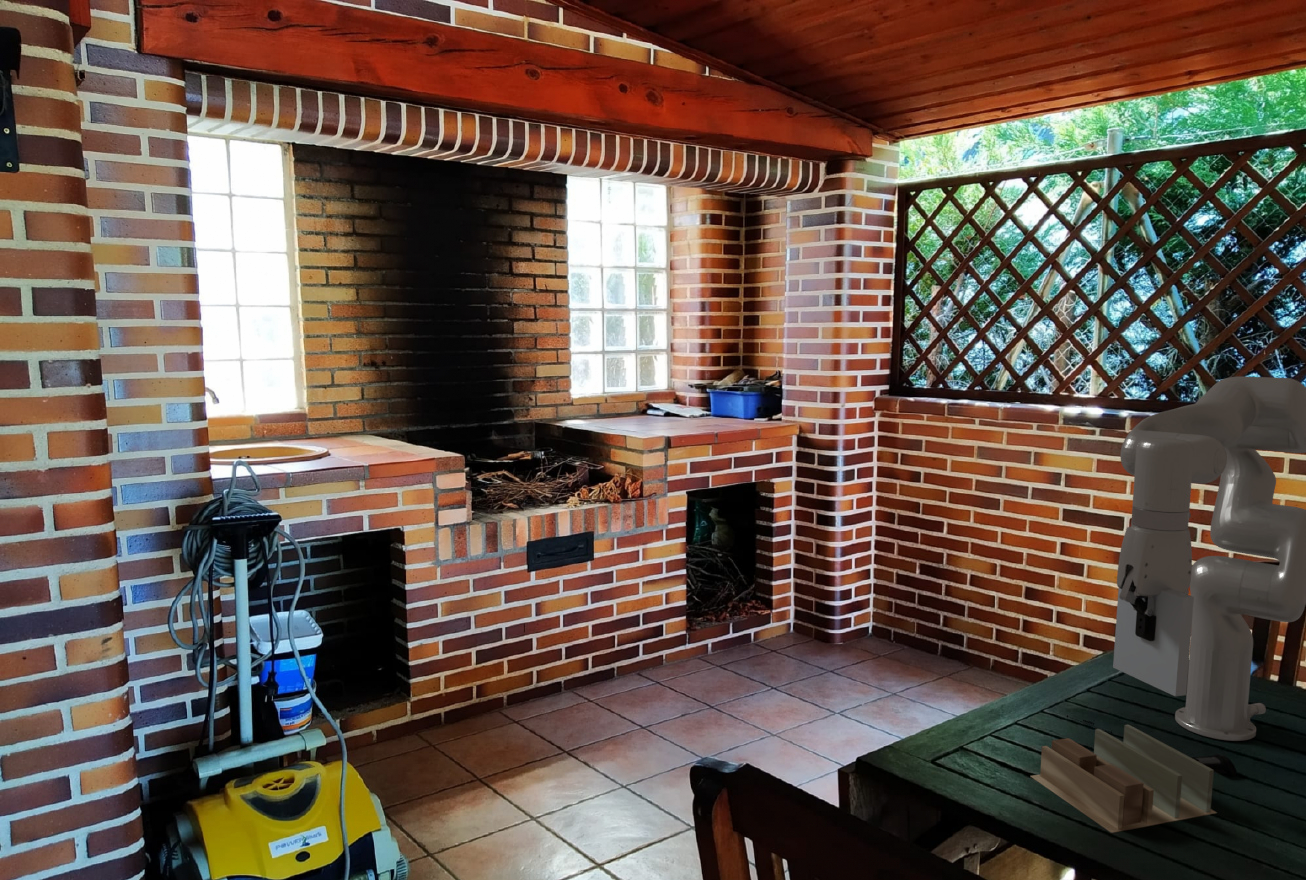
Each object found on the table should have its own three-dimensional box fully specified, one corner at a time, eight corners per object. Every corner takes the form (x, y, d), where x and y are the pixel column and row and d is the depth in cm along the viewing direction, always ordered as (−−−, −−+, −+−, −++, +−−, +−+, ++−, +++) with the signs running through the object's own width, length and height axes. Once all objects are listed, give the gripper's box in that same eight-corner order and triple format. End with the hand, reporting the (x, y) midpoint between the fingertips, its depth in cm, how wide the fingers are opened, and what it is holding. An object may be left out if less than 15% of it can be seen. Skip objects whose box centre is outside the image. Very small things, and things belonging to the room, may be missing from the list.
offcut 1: (1066, 773, 145) (1068, 738, 144) (1094, 792, 139) (1096, 755, 138) (1049, 776, 144) (1051, 740, 143) (1077, 795, 138) (1079, 757, 137)
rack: (1126, 768, 150) (1129, 722, 149) (1216, 822, 133) (1220, 771, 132) (1029, 784, 144) (1032, 737, 143) (1111, 842, 128) (1114, 789, 127)
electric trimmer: (1135, 773, 149) (1136, 755, 149) (1222, 767, 151) (1223, 749, 150) (1149, 784, 145) (1151, 766, 145) (1239, 778, 147) (1240, 759, 147)
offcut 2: (1109, 801, 136) (1111, 764, 135) (1140, 822, 130) (1143, 783, 130) (1091, 804, 135) (1094, 766, 135) (1122, 825, 130) (1125, 786, 129)
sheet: (1123, 666, 145) (1129, 575, 144) (1186, 695, 134) (1193, 596, 132) (1113, 667, 145) (1119, 576, 143) (1175, 696, 133) (1183, 597, 132)
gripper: (1180, 512, 142) (1172, 625, 144) (1098, 517, 138) (1090, 634, 140) (1222, 522, 135) (1213, 641, 137) (1137, 528, 131) (1128, 651, 133)
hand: (1151, 636), depth 139 cm, fingers closed on sheet, 1 cm apart
